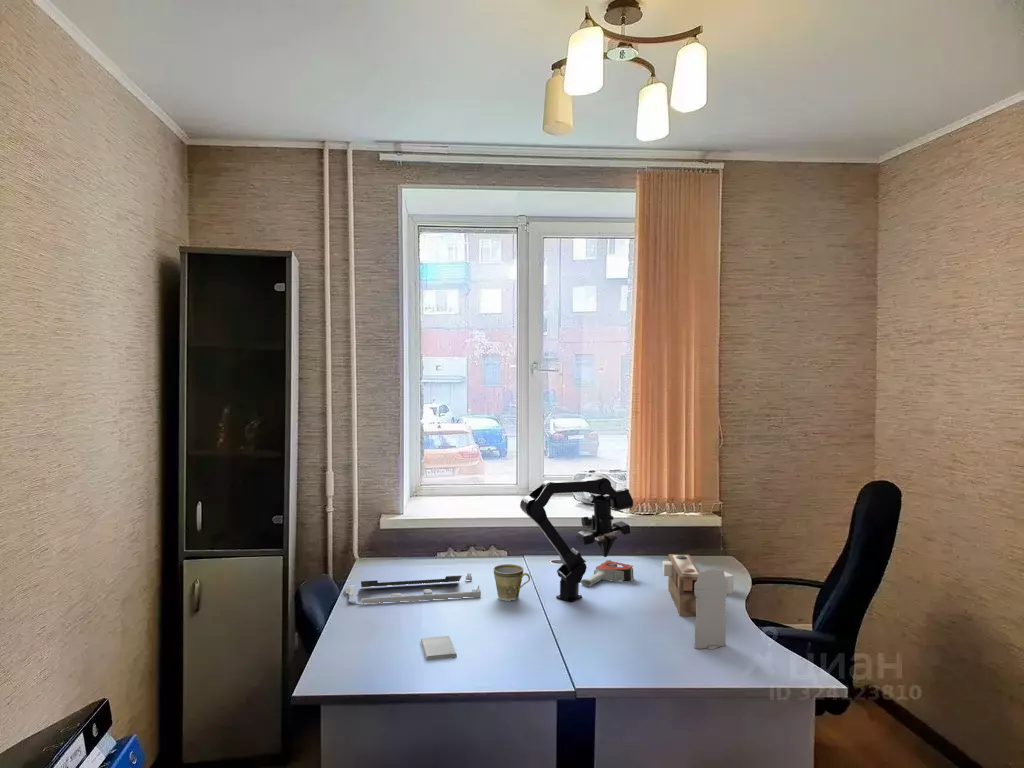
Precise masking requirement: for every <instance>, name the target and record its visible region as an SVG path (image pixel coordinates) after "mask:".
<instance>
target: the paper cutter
mask: <svg viewBox="0 0 1024 768" xmlns="http://www.w3.org/2000/svg"><path fill="white" fill-rule="evenodd" d="M462 576H463V575H448V576H445V578H436V579H435V578H434V579H432V578H431V579H418V580H417V579H416V580H415V579H414V580H402V581H401V580H399V581H398V580H397V581H385V582H378V580H364V581H360V585H361V588H372V587H371V586H375V587H386V586H387V585H392V586H407V585H406V584H408V585H419V584H420V585H421V584H422V583H423V584H424V583H425V584H437V583H438V584H439V583H440V582H442V583H453V582H454V583H455V582H457V581H458V582H460V580H461V579H462ZM466 580H472V581H473V576H472V573H468V572H467V573H466V576H465V581H466ZM354 586H355V585H352V584H349V585H348V586H347V587H345V589H344V592H345V593H346V594H347V595H349V597H348V602H349V603H351V604H354V603H356V601H353V600H352V598H353V597H352V596H353V587H354ZM387 587H388V586H387ZM481 593H482V591H481V589H480V585H477V588H476V589H471V591H460V592H458V591H456V592H445V593H443V592H441V593H433V592H432V589H431V588H428V589H426V588H425V589H424V588H423V594H409V595H402V592H396V593H390V596H380V597H379V596H378V597H364V598H361V601H360V603H363V604H364V603H379V602H380V603H383V602H400V601H419V600H433V599H448V598H463V597H480V596H481V597H482V594H481ZM419 602H420V601H419Z"/></svg>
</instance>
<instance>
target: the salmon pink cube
mask: <svg viewBox="0 0 1024 768" xmlns="http://www.w3.org/2000/svg"><path fill="white" fill-rule="evenodd" d="M678 588H679V576H678ZM692 589H693V580H684V583H683V591H692Z"/></svg>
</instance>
